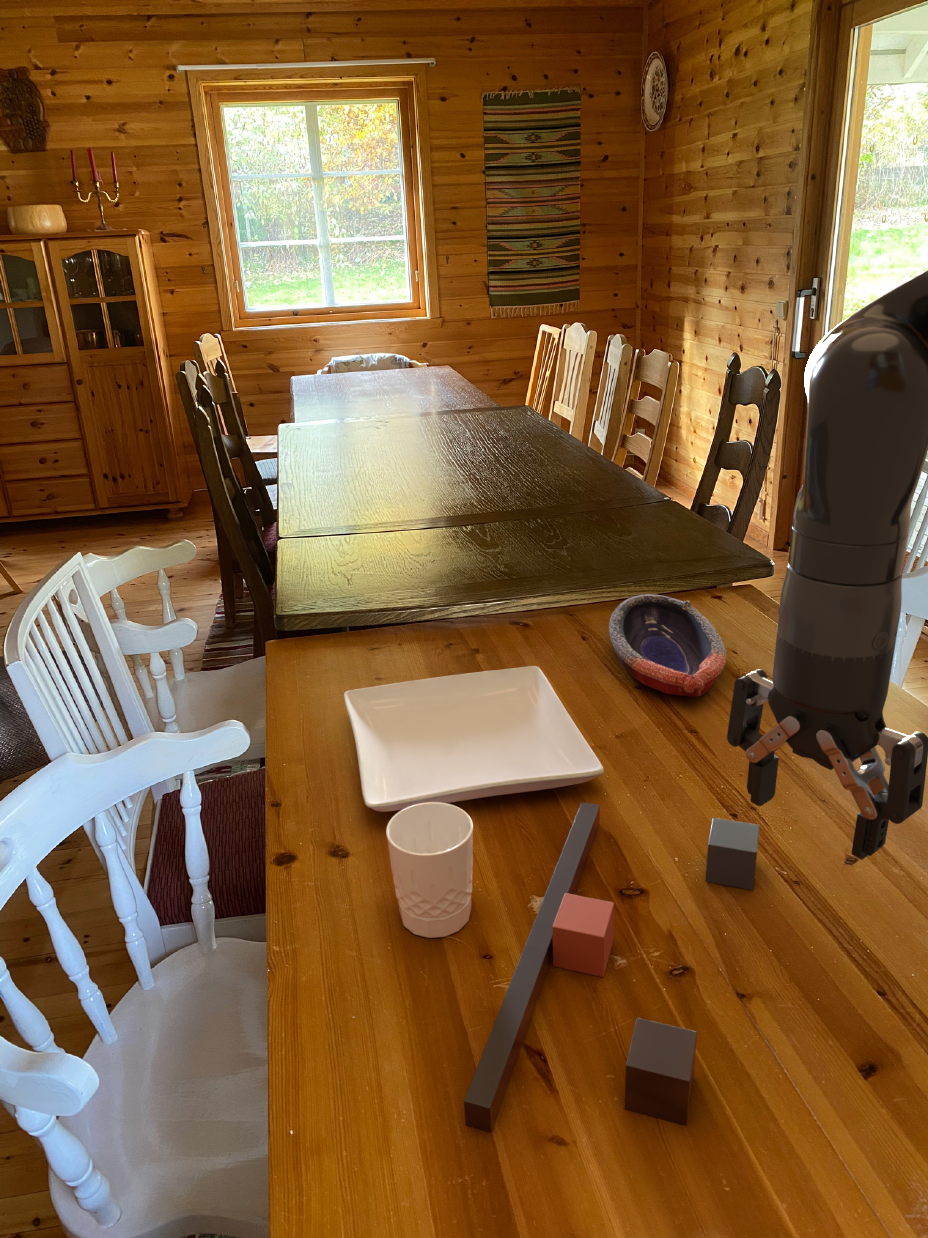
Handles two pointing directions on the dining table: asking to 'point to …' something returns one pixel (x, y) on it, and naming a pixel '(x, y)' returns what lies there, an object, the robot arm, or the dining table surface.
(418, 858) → the white cup
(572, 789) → the dining table surface
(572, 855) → the rail
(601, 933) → the terracotta block
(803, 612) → the robot arm
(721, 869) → the slate block
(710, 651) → the dish
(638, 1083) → the walnut block
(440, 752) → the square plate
